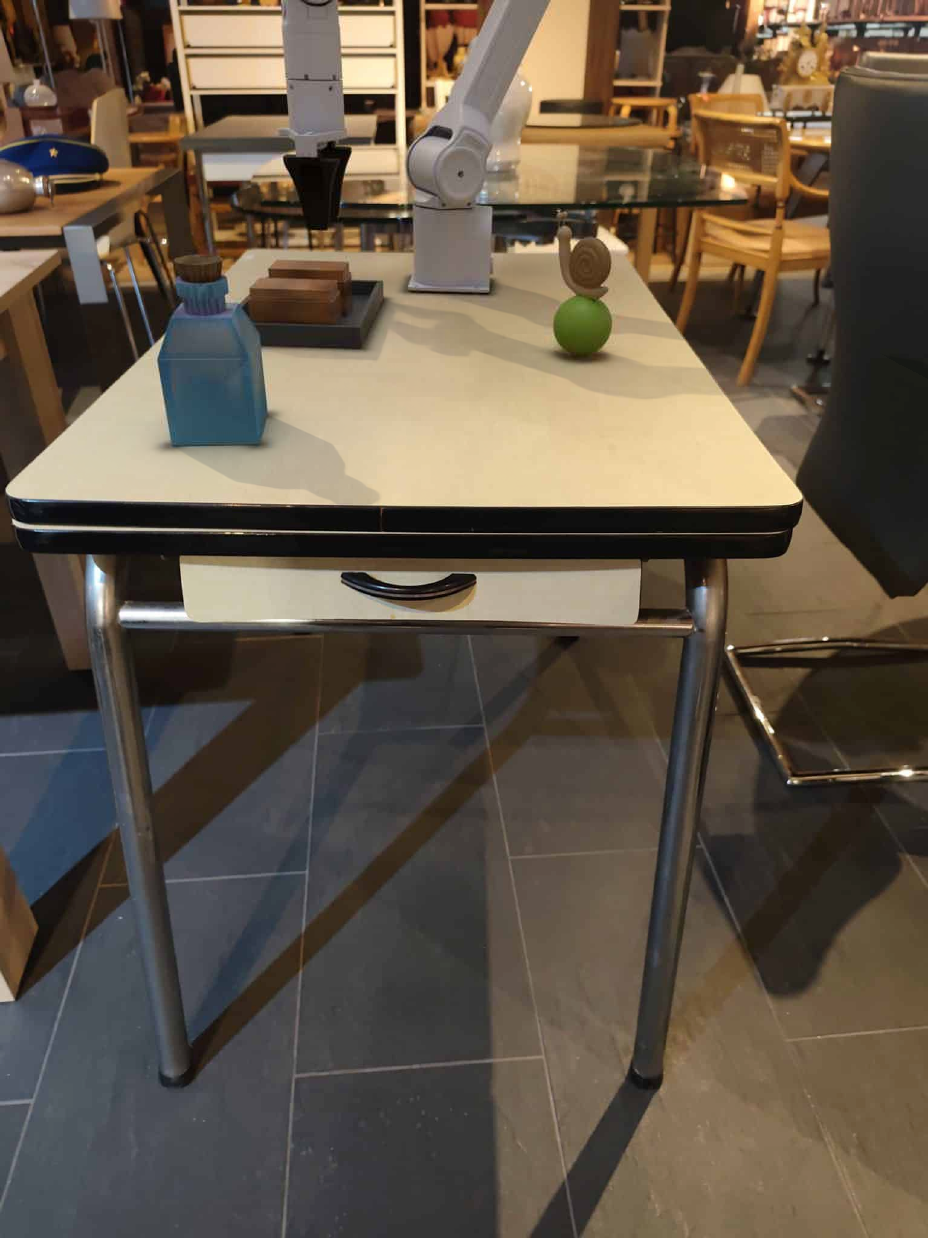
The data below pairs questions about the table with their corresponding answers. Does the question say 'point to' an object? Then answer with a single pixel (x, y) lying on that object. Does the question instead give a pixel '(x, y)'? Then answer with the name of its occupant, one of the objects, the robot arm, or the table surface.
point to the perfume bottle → (211, 362)
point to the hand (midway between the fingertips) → (323, 224)
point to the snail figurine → (583, 294)
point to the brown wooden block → (295, 301)
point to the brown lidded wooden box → (318, 275)
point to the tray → (333, 336)
